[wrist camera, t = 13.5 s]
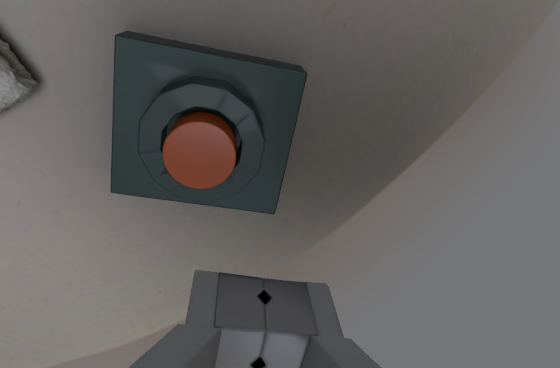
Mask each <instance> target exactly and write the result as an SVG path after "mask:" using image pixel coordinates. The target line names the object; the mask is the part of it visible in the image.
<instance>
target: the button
mask: <svg viewBox="0 0 560 368" xmlns="http://www.w3.org/2000/svg"><path fill="white" fill-rule="evenodd" d="M162 155H163V161H164V164H165V167H166V169H167V170H168V172H169V173H170V175H171V176H172V177H173V178H174V179H175V180H177V181H178V182H180V183H181V184H183V185H185V186H188V187H191V188H198V189H205V188H211V187H214V186H216V185H219V184H220V183H222V182H223V181H225V180H226V179H227V178H228V177H229V176H230V174H231V173H232V171H233V169H234V167H235V163H236V138H235V135H234V132H233V130H232V129H231V127H230V126H229V125H228V124H227V122H225V121H224V120H223V119H222V118H220V117H218V116H217V115H214V114H212V113H207V112H193V113H189V114H187V115H184V116H183V117H181V118H180V119H178V120H177V121H176V122H175V123H174V125H173V126H172V128H171V130H170V132H169V134H168V136H167V138H166V140H165V142H164V145H163V151H162Z"/></svg>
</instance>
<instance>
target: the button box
mask: <svg viewBox="0 0 560 368" xmlns="http://www.w3.org/2000/svg"><path fill="white" fill-rule="evenodd" d="M306 77H307V72H306V71H305V70H304V69H303V68H302V67H301V66H298V65H293V64H288V63H284V62H279V61H274V60H269V59H264V58H259V57H254V56H249V55H244V54H239V53H234V52H229V51H224V50H219V49H214V48H209V47H204V46H199V45H194V44H189V43H184V42H179V41H174V40H169V39H164V38H159V37H154V36H149V35H144V34H139V33H134V32H129V31H125V32H123V33H120V34H117V35H115V50H114V87H113V123H112V160H111V193H117V194H124V195H132V196H140V197H147V198H155V199H162V200H170V201H178V202H185V203H193V204H200V205H208V206H216V207H223V208H231V209H238V210H246V211H253V212H261V213H269V214H275V212H276V207H277V203H278V199H279V194H280V190H281V186H282V181H283V177H284V173H285V168H286V164H287V160H288V155H289V151H290V147H291V142H292V138H293V134H294V129H295V125H296V121H297V116H298V112H299V108H300V103H301V99H302V95H303V90H304V86H305V82H306ZM193 112H207V113H212V114H214V115H217V116H218V117H220V118H222V119H223V120H224V121H225V122H227V124H228V125H229V126H230V127H231V129H232V130H233V132H234V135H235V138H236V163H235V167H234V169H233V171H232V173H231V174H230V176H229V177H228V178H227V179H226V180H225V181H223V182H222V183H220V184H219V185H216V186H214V187H211V188H205V189H198V188H191V187H188V186H185V185H183V184H181V183H180V182H178V181H177V180H175V179H174V178H173V177H172V176H171V175H170V173H169V172H168V170H167V169H166V167H165V164H164V161H163V155H162V151H163V145H164V142H165V140H166V138H167V136H168V134H169V132H170V130H171V128H172V126H173V125H174V123H175V122H176V121H177V120H178V119H180V118H181V117H183V116H184V115H187V114H189V113H193Z"/></svg>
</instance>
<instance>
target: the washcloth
mask: <svg viewBox="0 0 560 368" xmlns="http://www.w3.org/2000/svg"><path fill="white" fill-rule="evenodd" d="M4 43H5V42H3V41H2V40H1V39H0V113H1V112H2V111H3V110H7V109H9V107H10V106H13V105H15V104H16V103H19V102H20V101H21V100H23V99H25V98H26V97H27V96H28V95H29V94H30V93H32V92H33V91H34V85H35V84H37V83H38V82H37V81H34V80H33V79H32V77H31V74H30V73H29V72H28V71H26V70H25V68H24V66H23V65H21V64H20V63H19V61H18V60H17V57H16V56H15V55H14V53H13V52H11V50H10V49H9V45H8V43H5V44H4Z"/></svg>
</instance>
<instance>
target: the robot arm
mask: <svg viewBox="0 0 560 368" xmlns="http://www.w3.org/2000/svg"><path fill="white" fill-rule="evenodd" d="M129 368H381V367H380V366H379V365H378V364H376V363H375V362H374V361H373V360H372V359H371V358H370V357H369V356H368V355H367V354H366V353H365V352H364V351H363V350H362V349H361V348H360V347H359V346H357V345H356V344H355V343H354V342H353V341H352V340H351V339H346V338H344V337H343V333H342V330H341V327H340V324H339V320H338V317H337V313H336V310H335V307H334V304H333V300H332V297H331V293H330V290H329V287H328V285H326V284H325V283H312V282H295V281H284V280H275V279H265V278H259V277H251V276H243V275H236V274H228V273H220V272H219V275H218V272H210V271H202V270H196V271H195V273H194V278H193V283H192V289H191V295H190V300H189V306H188V312H187V317H186V323H185V325H181V324H178V325H177V326H175V327H174V328H173V329H172V330H171V331H170V332H169V333H167V334H166V335H165V336H164V337H163V338H162V339H161V340H159V341H158V342H157V343H156V344H155V345H154V346H153V347H152V348H150V349H149V350H148V351H147V352H146V353H145V354H144V355H142V356H141V357H140V358H139V359H138V360H137V361H136V362H135V363H134V364H132V365H131V366H130V367H129Z"/></svg>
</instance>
